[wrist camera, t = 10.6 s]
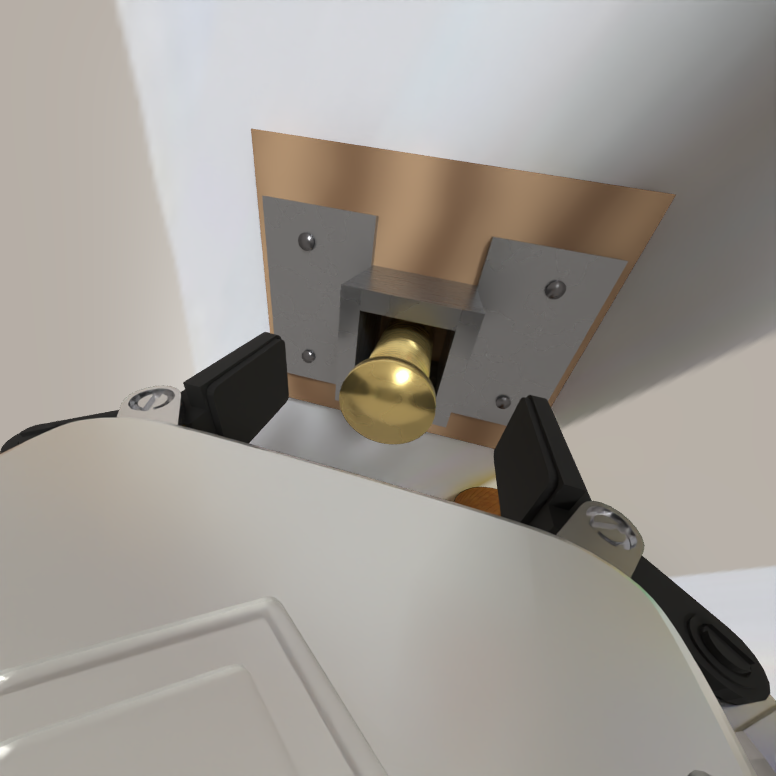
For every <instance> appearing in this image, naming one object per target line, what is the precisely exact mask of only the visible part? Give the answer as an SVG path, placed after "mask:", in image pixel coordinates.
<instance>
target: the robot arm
mask: <svg viewBox="0 0 776 776" xmlns="http://www.w3.org/2000/svg"><path fill="white" fill-rule="evenodd" d="M183 384H184V387H185V390H184V391H182V392H180V391H179V390H178V389H177V388H174V387H172V386H153V387H148V388H144V389H141V390H138V391H136V392H134V393H132V394H130V395H129V396H128V397H126V398H125V399H124V400H123V402H122V403H121V407H120V409H119V410H116V411H110V412H105V413H100V414H94V415H89V416H83V417H78V418H73V419H68V420H62V421H56V422H51V423H46V424H39V425H35V426H32V427H30V428H27V429H25V430H24V431H22V432H20V433H19V434H17V435H15V436H14V437H12V438H11V439H10V440H8V441H7V442H6V443H5V444H4V445H3V447H2V448H1V451H0V776H776V700H775V699H774V698H773V697H772V696H771V695H770V685H769V681H768V679H767V676H766V674H765V671H764V669H763V668H762V666H761V664H760V663H759V661H758V660H757V658H756V657H755V655H754V654H753V653H752V652H751V650H750V649H749V648H748V647H747V646H746V645H745V643H744V642H743V641H742V640H741V639H740V638H739V637H738V636H737V635H736V634H735V633H734V632H732V631H731V630H730V629H729V628H728V627H727V626H726V625H725V624H723V623H722V622H721V621H720V620H719V619H717V618H716V617H715V616H714V615H713V614H711V613H710V612H709V611H708V610H707V609H705V608H704V607H703V606H702V605H701V604H699V603H698V602H697V601H696V600H695V599H693V598H692V597H691V596H690V595H689V594H687V593H686V592H685V591H684V590H683V589H681V588H680V587H679V586H678V585H677V584H675V583H674V582H673V581H672V580H671V579H669V578H668V577H667V576H666V575H665V574H663V573H662V572H661V571H660V570H658V569H657V568H656V567H655V566H654V565H652V564H651V563H650V562H649V561H648V560H647V559H645V558H644V557H643V556H642V554H643V551H644V542H643V539H642V536H641V535H640V533H639V531H638V530H637V528H636V527H635V526H634V525H633V524H632V523H631V521H630V520H628V519H627V518H626V517H625V516H624V515H623V514H621V513H620V512H619V511H617V510H616V509H614V508H612V507H611V506H608V505H606V504H604V503H601V502H596V501H591V498H590V496H589V494H588V492H587V489H586V487H585V484H584V482H583V480H582V478H581V475H580V473H579V471H578V469H577V466H576V464H575V462H574V460H573V457H572V455H571V453H570V450H569V448H568V446H567V443H566V441H565V439H564V437H563V434H562V432H561V430H560V428H559V425H558V423H557V421H556V418H555V416H554V414H553V412H552V409H551V407H550V405H549V402H548V400H547V399H546V398H542V397H537V396H533V395H528V396H527V397H526V398H525V397H522V398H521V399H520V401H519V403H518V405H517V407H516V409H515V411H514V413H513V414H512V416H511V418H510V420H509V422H508V424H507V426H506V428H505V430H504V432H503V434H502V436H501V438H500V440H499V442H498V444H497V446H496V448H495V450H494V464H495V472H496V481H497V489H498V497H499V505H500V513H501V516H498V515H495V514H491V513H488V512H485V511H481V510H478V509H475V508H471V507H468V506H465V505H461V504H458V503H455V502H451V501H448V500H444V499H441V498H437V497H434V496H431V495H427V494H424V493H420V492H417V491H413V490H410V489H407V488H403V487H400V486H396V485H393V484H389V483H386V482H382V481H379V480H375V479H372V478H368V477H365V476H361V475H358V474H354V473H351V472H347V471H344V470H340V469H337V468H333V467H330V466H326V465H323V464H319V463H316V462H312V461H309V460H305V459H302V458H298V457H295V456H291V455H287V454H284V453H280V452H277V451H273V450H270V449H266V448H262V447H259V446H255V445H252V444H249V443H250V441H251V440H252V439H253V438H254V437H255V436H256V435H257V434H258V433H259V432H260V430H261V429H262V428H263V427H264V426H265V425H266V424H267V423H268V422H269V421H270V420H271V418H272V417H273V416H274V415H275V414H276V413H277V412H278V411H279V410H280V409H281V407H282V406H283V405H284V404H285V403H286V402H287V400H288V397H289V388H288V375H287V362H286V348H285V342H284V340H282V339H281V337H280V336H279V335H276V334H271V333H267V332H264V333H262V334H260V335H259V336H257V337H256V338H254V339H252V340H251V341H249V342H248V343H246V344H244V345H243V346H241V347H239V348H238V349H236V350H235V351H233V352H231V353H230V354H228V355H227V356H225V357H223V358H222V359H220V360H219V361H217V362H215V363H214V364H212V365H211V366H209V367H207V368H206V369H204V370H203V371H201V372H199V373H198V374H196V375H194V376H193V377H191V378H190V379H188V380H186V381H185V382H184V383H183Z"/></svg>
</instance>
